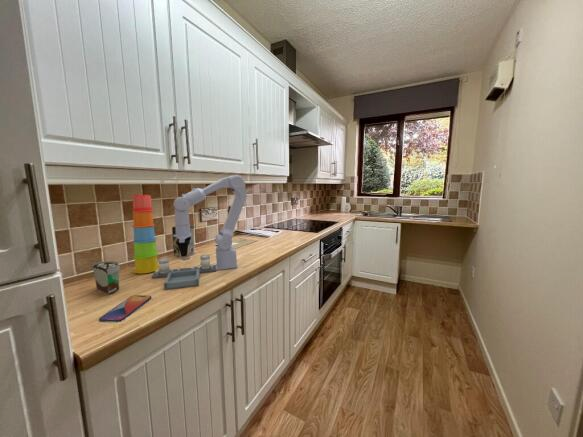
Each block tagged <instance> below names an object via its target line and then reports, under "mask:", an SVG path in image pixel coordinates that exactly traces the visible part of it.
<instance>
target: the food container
mask: <svg viewBox="0 0 583 437" xmlns="http://www.w3.org/2000/svg"><path fill="white" fill-rule="evenodd" d="M92 269H93V275H94V280H95V281H94V282H95V285H96V286H95V287H96V290H97V291H99V292H101V293H104V294H106V295H108V296H111V295H113V294H115V293H117V292H118V291H119V290H120V276H119V275H120V272H119V271H120V270H121V269H122V268H121V266H120V264H119V262H118V261H113V260H112V261H110V260H108V261H100V262H99V261H98V262H93V263H92Z"/></svg>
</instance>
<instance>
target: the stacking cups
mask: <svg viewBox="0 0 583 437" xmlns="http://www.w3.org/2000/svg"><path fill="white" fill-rule="evenodd" d="M132 207H133V208H132V209H133V210H132V211H131V212H132V216H133V225H131V226H132V227H133V237H134V238H133V240H132V243H133V247H134V248H133V250H134V254H133V256H132V257H133V258H134V266H135V267H134V268H135V269H134V270H133V273H135V274H139V275H142V274H149V273H154V272H155V271H156V270H159V261H158V255H159V253H158V251H157V244H156V240H157V238H156V235H155V223H154V216H153V211H154V209H153V206H152V196H151V194H136V195H135V194H133V196H132Z"/></svg>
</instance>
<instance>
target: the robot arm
mask: <svg viewBox="0 0 583 437" xmlns="http://www.w3.org/2000/svg"><path fill="white" fill-rule="evenodd" d="M222 188H226V189H227V188H228V189H229V190H231V192H232V193H233V196H234V198H233V202H232V204H231V207H230V209H229V212H228V214H227V217H226V220H225V222H224V224H223V227H222V228H221V229H220V230H219V233H218V234H217V235H216V236H215V239H214V242H215V244H216V245H217V246H216V247H215V260H216V263H215V265H216V271H219V270H230V269H237V268H238V265H237V263H238V259H237V258H238V257H237V249H236V247H232V245H233V238H234V230H235V228H236V225H237V223H238V220H239V217H240V215H241V213H242V210H243V207H244V205H245V202H246V200H247V197H248V196H247V195H248V194H247V190H246V182H245V179H244V178H243V177H242V176H241V175H240V174H234V175H233V174H231V175H229V176H226V177H223V178H220V179H218V180H216V181H214V182H213V183H210V184H209V185H207V186H205V187H203V188H199V187H197V188H195V187H193V188H192V189H191V191H189V192H187V193H182V194H181V196H179V197H176V198H175V199H174V200H173V207H174V221H175V222H174V223H175V226H176V234H175V235H173V234H172V238H173V237H177V238H178V241H176V244H177V246H178V247H179V250H180V253H181V256H187V252H188V245H189V242H190V239H191V237H190V236H191V234H190V226H191V224H190V214H189V207H193V206H195V205H196V204H199V203H200V202H202V201H204V200H205V199H206V196H207V195H208V196H209V194H212V193H214V192H216V191H218V190H220V189H222Z"/></svg>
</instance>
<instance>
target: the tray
mask: <svg viewBox="0 0 583 437" xmlns="http://www.w3.org/2000/svg"><path fill="white" fill-rule="evenodd" d="M200 275H201V273H199V269H196V270H187V271H177V272H169V273H168V276H167V277H165V281H164V283H163V285H164V288H163V289H164V291H166V290H167V291H168V290H175V289H183V288H191V287H199V283H200Z"/></svg>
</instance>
